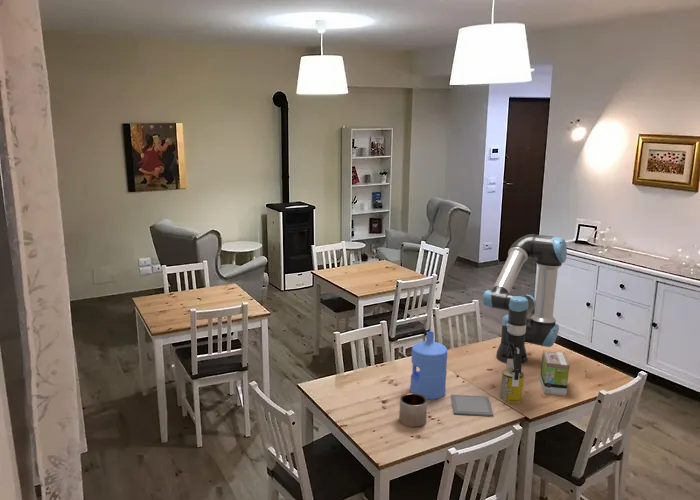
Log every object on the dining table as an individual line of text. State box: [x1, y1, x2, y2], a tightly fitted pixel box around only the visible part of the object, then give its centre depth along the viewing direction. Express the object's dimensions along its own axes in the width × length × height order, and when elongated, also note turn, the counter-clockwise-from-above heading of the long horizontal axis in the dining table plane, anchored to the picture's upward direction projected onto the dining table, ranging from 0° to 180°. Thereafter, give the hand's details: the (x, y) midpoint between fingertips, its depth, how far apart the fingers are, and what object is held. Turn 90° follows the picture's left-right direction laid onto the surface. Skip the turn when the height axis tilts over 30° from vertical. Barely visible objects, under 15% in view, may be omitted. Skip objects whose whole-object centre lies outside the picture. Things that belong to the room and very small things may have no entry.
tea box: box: [539, 350, 571, 397], centre depth 262 cm, size 15×10×15 cm
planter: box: [398, 392, 428, 428], centre depth 232 cm, size 11×11×10 cm
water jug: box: [409, 331, 448, 400], centre depth 254 cm, size 16×16×28 cm
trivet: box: [450, 394, 495, 417], centre depth 245 cm, size 16×16×1 cm
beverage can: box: [499, 368, 525, 404], centre depth 251 cm, size 9×9×12 cm
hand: (512, 379), depth 250 cm, fingers open, 13 cm apart
